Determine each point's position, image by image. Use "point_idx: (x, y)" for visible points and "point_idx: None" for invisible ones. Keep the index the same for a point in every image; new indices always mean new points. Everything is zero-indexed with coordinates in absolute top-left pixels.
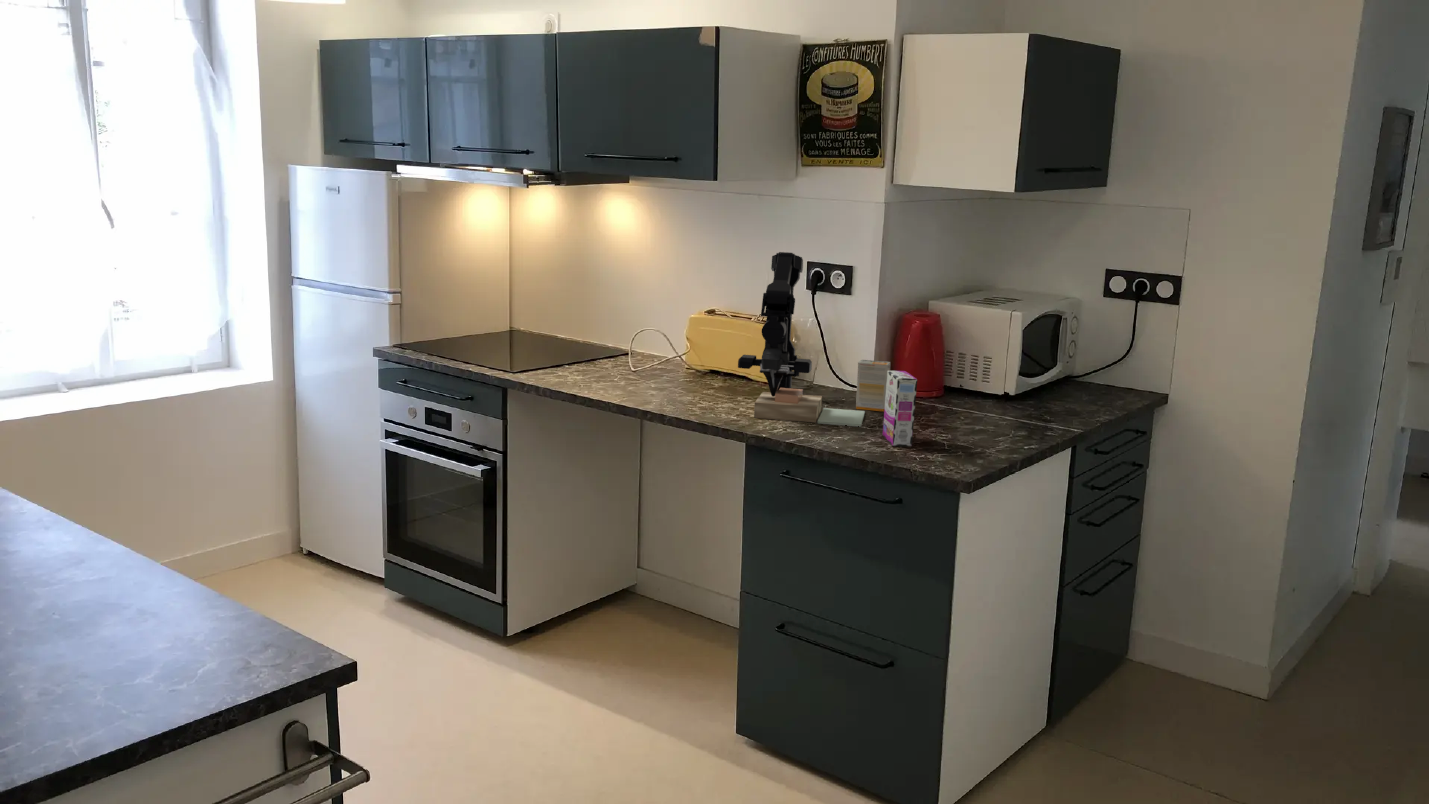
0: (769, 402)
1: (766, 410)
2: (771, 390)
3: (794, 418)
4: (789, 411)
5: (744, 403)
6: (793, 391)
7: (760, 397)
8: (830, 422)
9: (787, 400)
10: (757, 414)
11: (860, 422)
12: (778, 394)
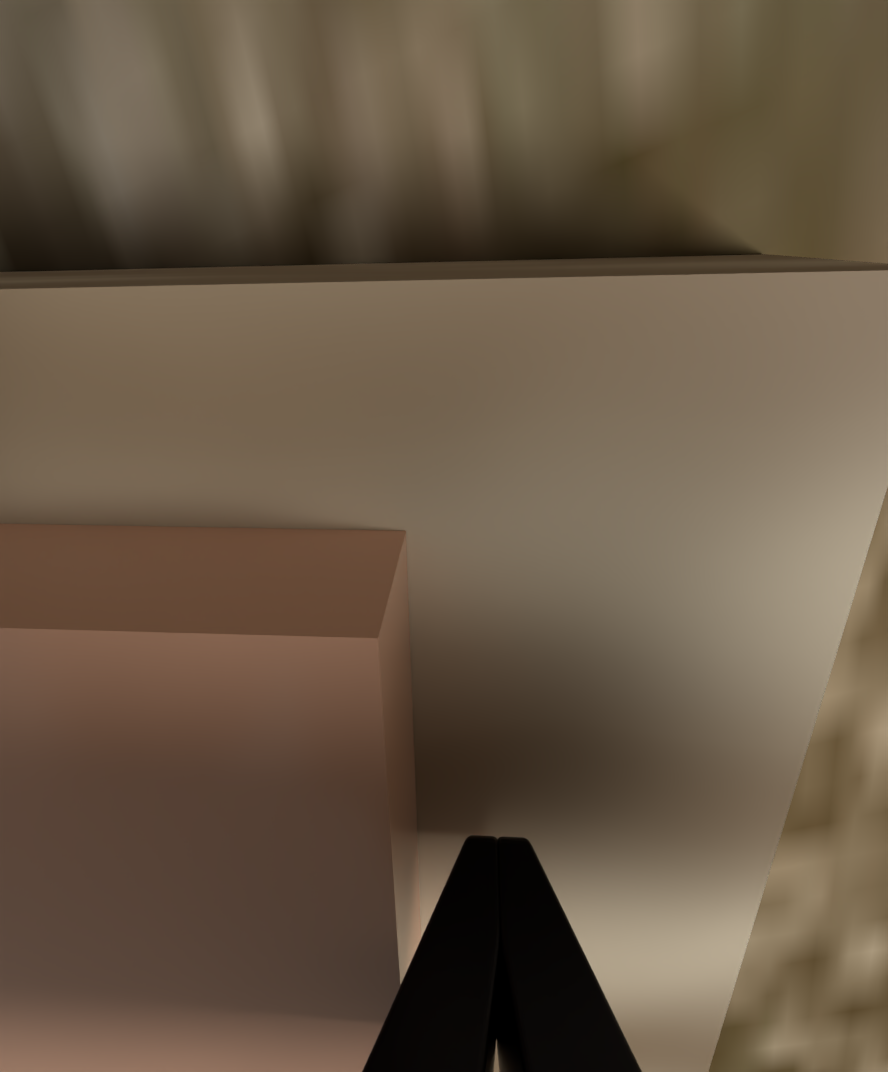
0: (522, 423)
1: (560, 266)
2: (546, 950)
3: (40, 272)
4: (58, 279)
5: (848, 954)
6: (69, 996)
7: (748, 814)
8: None
9: (78, 548)
10: (725, 259)
11: None
12: (273, 645)
